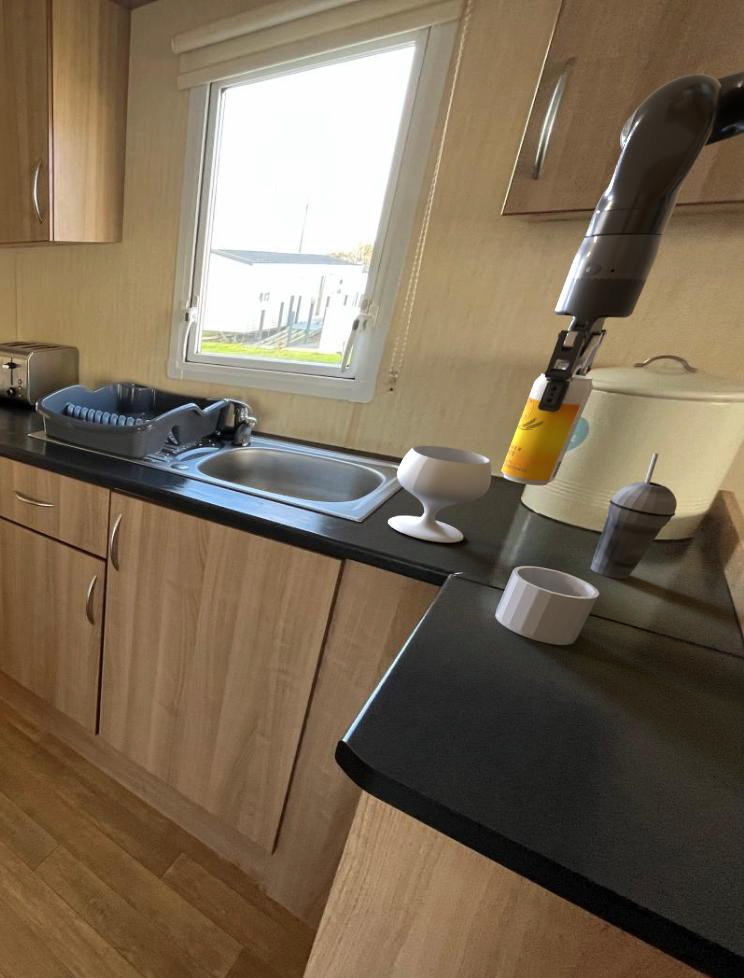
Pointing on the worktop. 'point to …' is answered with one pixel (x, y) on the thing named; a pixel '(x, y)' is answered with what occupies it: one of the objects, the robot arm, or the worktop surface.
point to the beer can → (545, 434)
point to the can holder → (546, 604)
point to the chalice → (440, 488)
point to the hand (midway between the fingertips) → (553, 407)
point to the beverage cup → (632, 525)
